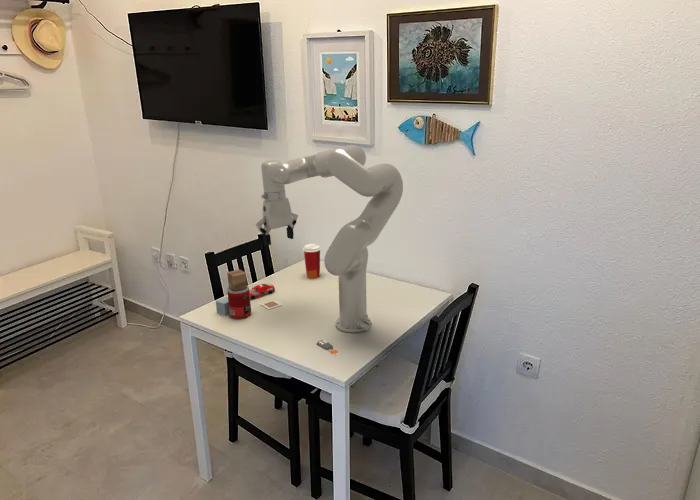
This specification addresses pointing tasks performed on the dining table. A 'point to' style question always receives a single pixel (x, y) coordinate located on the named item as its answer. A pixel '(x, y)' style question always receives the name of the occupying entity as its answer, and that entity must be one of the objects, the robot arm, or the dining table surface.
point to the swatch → (271, 304)
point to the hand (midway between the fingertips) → (279, 241)
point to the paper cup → (312, 260)
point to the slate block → (223, 306)
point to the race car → (261, 290)
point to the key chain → (327, 346)
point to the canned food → (239, 303)
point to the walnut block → (237, 280)
